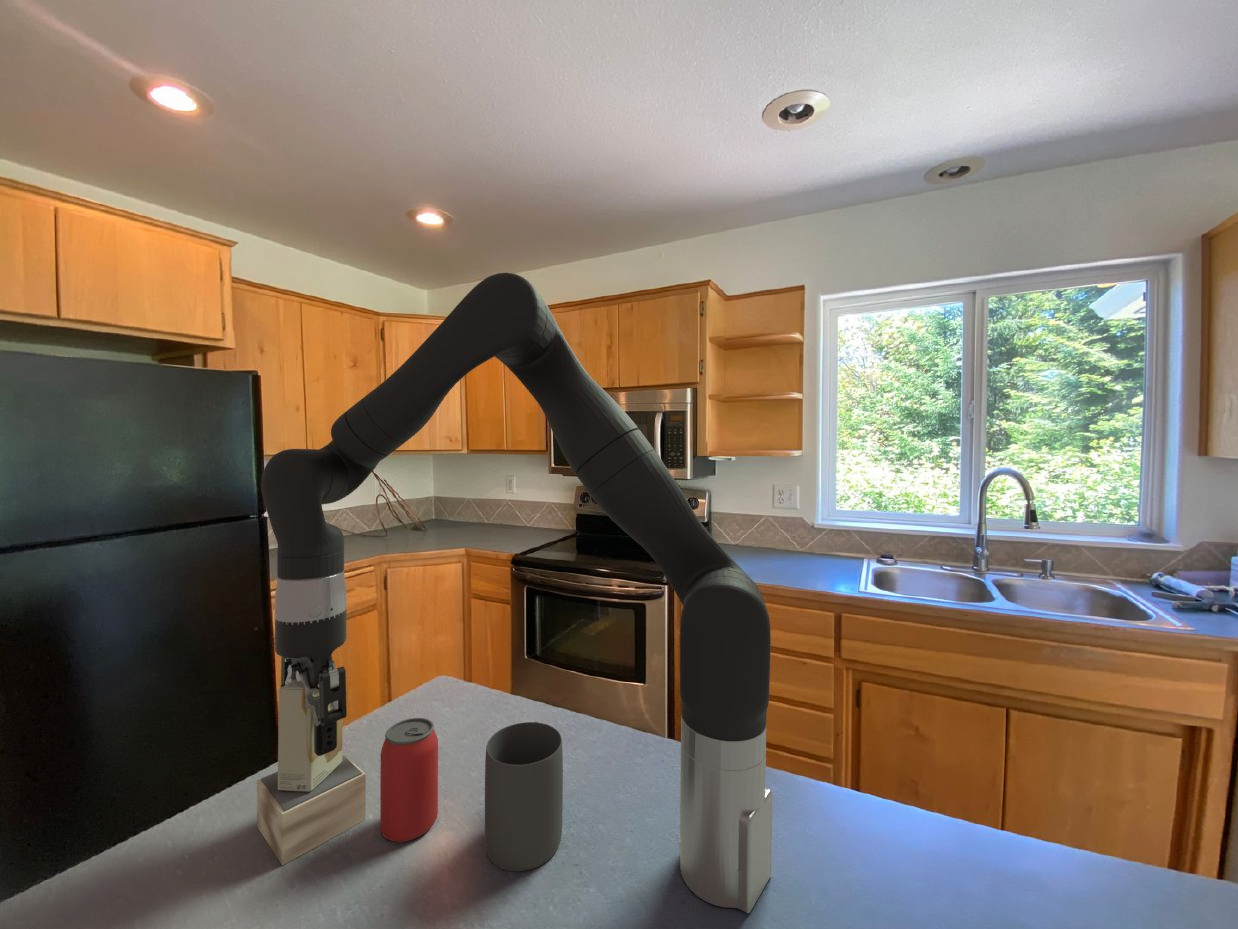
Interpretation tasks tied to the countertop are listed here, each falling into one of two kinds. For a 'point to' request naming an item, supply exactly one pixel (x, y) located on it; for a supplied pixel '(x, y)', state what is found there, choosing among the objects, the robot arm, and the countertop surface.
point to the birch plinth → (310, 810)
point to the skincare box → (301, 743)
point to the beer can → (409, 780)
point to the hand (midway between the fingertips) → (311, 739)
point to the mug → (523, 795)
